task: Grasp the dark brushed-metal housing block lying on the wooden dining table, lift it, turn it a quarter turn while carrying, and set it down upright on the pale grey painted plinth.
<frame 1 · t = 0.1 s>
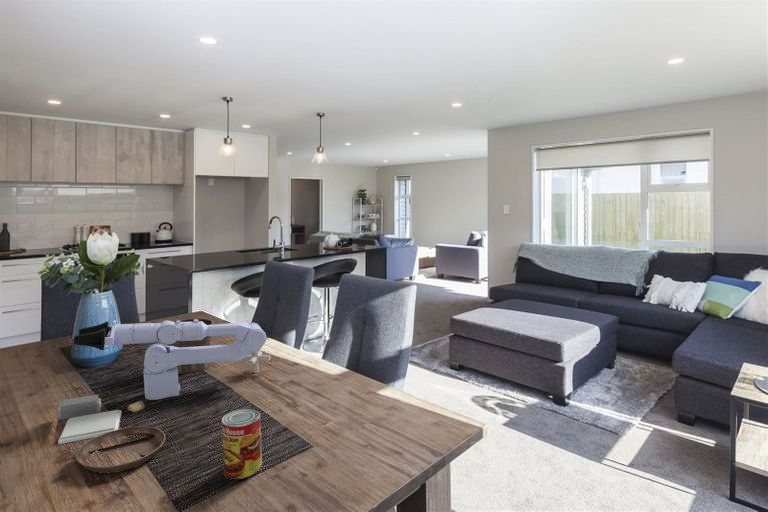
hand: (76, 336, 123), 22 cm above the table, tool horizontal, fingers open, 7 cm apart
housing: (81, 417, 122), on the table
plant pot: (191, 369, 159), on the table
yellow rounded lump: (141, 406, 126), point 1 cm above the table, tilted 89°
plant saucer: (123, 457, 103), on the table
pipe connector: (256, 372, 155), on the table
canned food: (243, 470, 97), on the table
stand: (92, 432, 114), on the table
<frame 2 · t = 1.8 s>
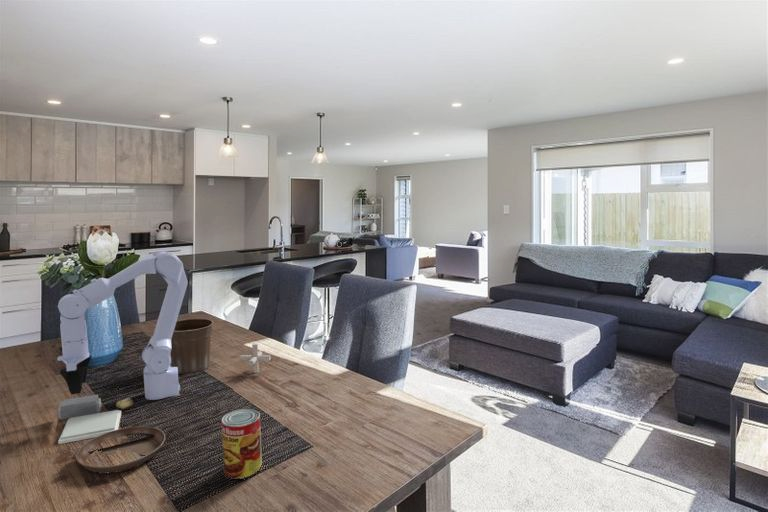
hand: (78, 388, 121), 8 cm above the table, tool pointing down, fingers open, 7 cm apart
yellow rounded lump: (129, 402, 128), point 1 cm above the table, tilted 90°
everything else where it was.
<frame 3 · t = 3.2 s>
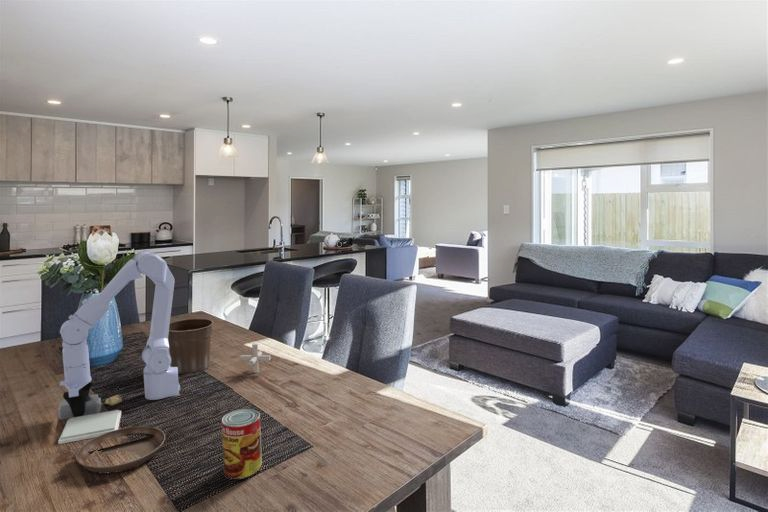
hand: (80, 412, 122), 1 cm above the table, tool pointing down, fingers closed on housing, 4 cm apart
housing: (81, 417, 122), on the table, touching gripper
yellow rounded lump: (118, 399, 130), point 1 cm above the table, tilted 90°
everything else where it was.
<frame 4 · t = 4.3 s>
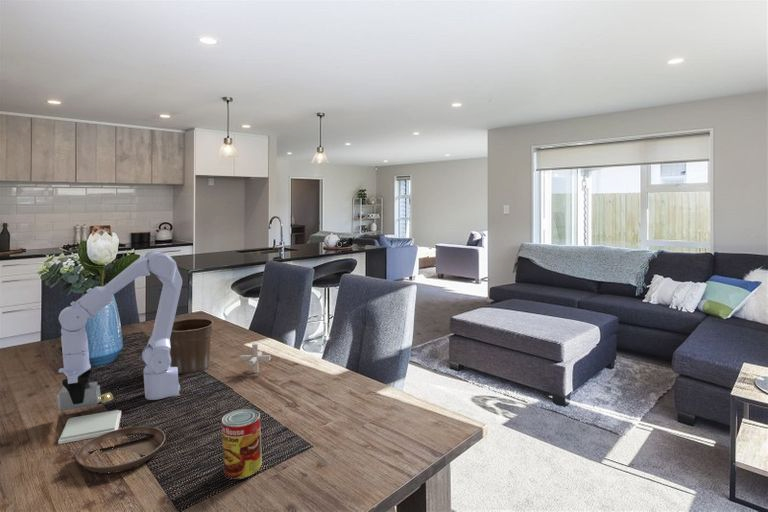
hand: (79, 399, 122), 5 cm above the table, tool pointing down, fingers closed on housing, 4 cm apart
housing: (80, 404, 122), point 4 cm above the table, touching gripper
yellow rounded lump: (110, 397, 131), point 1 cm above the table, tilted 90°
everything else where it was.
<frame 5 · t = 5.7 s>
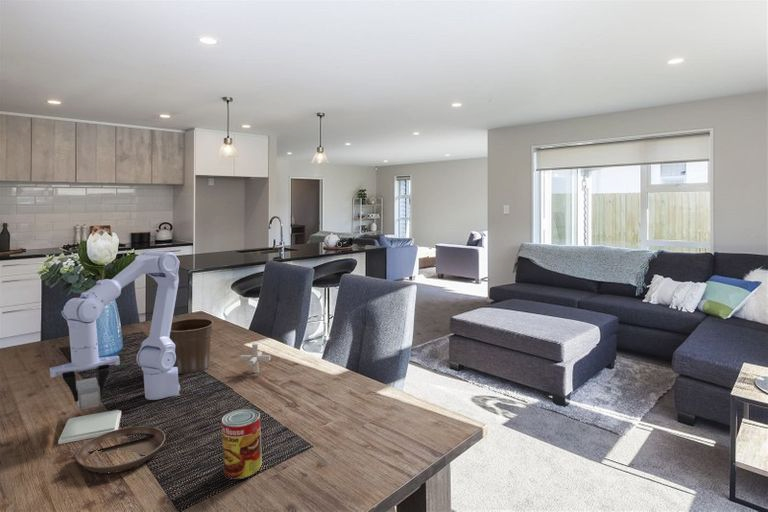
hand: (88, 397, 114), 9 cm above the table, tool pointing down, fingers closed on housing, 4 cm apart
housing: (88, 402, 114), point 7 cm above the table, touching gripper
yellow rounded lump: (97, 393, 134), point 1 cm above the table, tilted 90°
everything else where it was.
when the fingers open (5 cm above the table, at t = 7.0 s): housing stays where it is, resting on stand.
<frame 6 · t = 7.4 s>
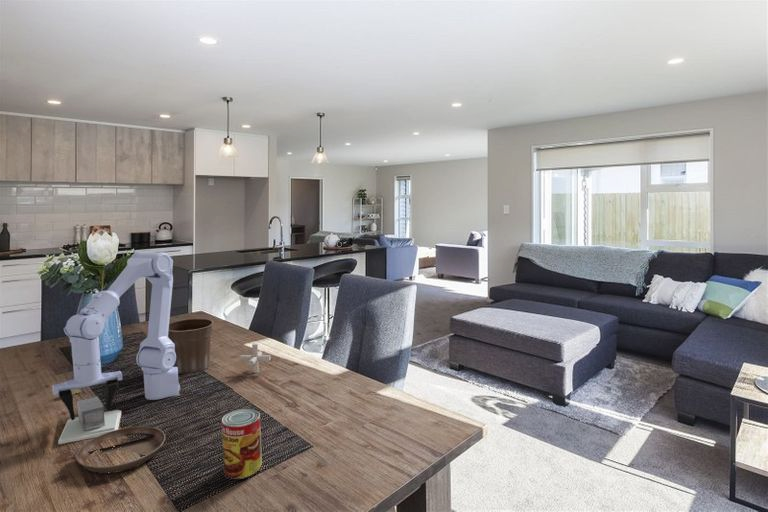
hand: (91, 413, 113), 5 cm above the table, tool pointing down, fingers open, 7 cm apart
housing: (91, 422, 114), point 2 cm above the table, touching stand
yellow rounded lump: (77, 388, 138), point 1 cm above the table, tilted 90°
everything else where it was.
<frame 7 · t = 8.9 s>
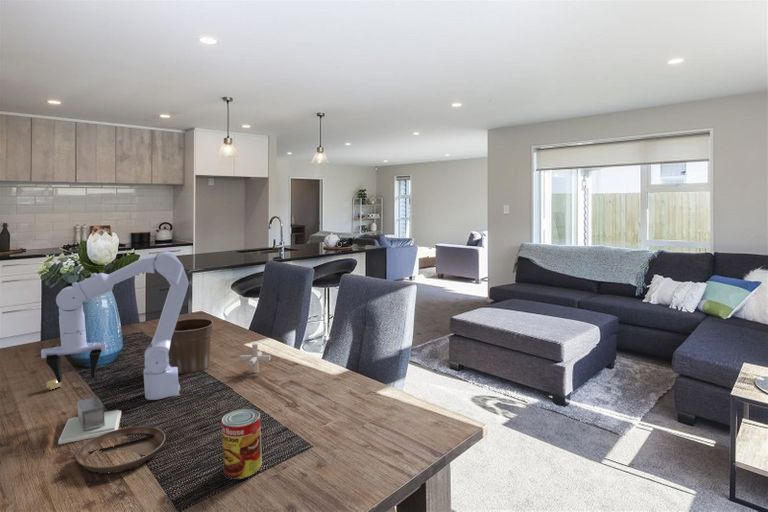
hand: (76, 378, 123), 10 cm above the table, tool pointing down, fingers open, 7 cm apart
yellow rounded lump: (59, 382, 143), point 1 cm above the table, tilted 90°
everything else where it was.
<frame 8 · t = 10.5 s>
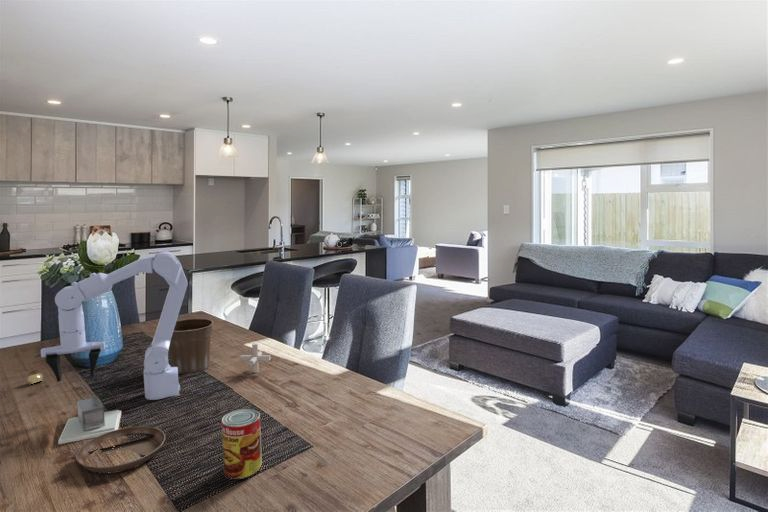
hand: (76, 377, 124), 10 cm above the table, tool pointing down, fingers open, 7 cm apart
yellow rounded lump: (40, 377, 147), point 1 cm above the table, tilted 90°
everything else where it was.
at the end: housing inside the target area on the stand (0.0 cm from its centre), point 2.5 cm above the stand's base; housing tilted 0°; the gripper is holding nothing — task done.
